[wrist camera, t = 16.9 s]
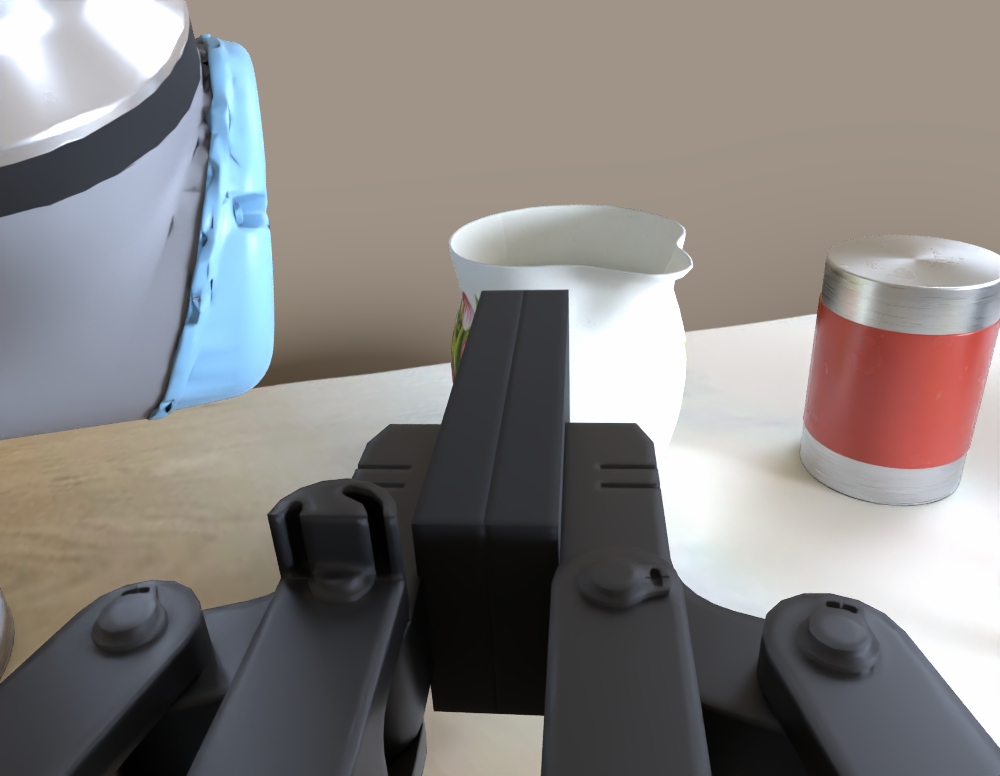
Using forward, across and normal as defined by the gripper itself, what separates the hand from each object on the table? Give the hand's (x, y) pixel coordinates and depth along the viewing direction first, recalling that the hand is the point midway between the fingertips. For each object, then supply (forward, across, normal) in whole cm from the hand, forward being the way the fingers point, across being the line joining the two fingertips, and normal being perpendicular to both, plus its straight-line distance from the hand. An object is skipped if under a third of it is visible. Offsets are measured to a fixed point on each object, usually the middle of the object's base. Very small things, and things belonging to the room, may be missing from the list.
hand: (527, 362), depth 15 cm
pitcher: (+23, 0, -18) cm, 29 cm away
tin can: (+24, +16, -18) cm, 34 cm away
